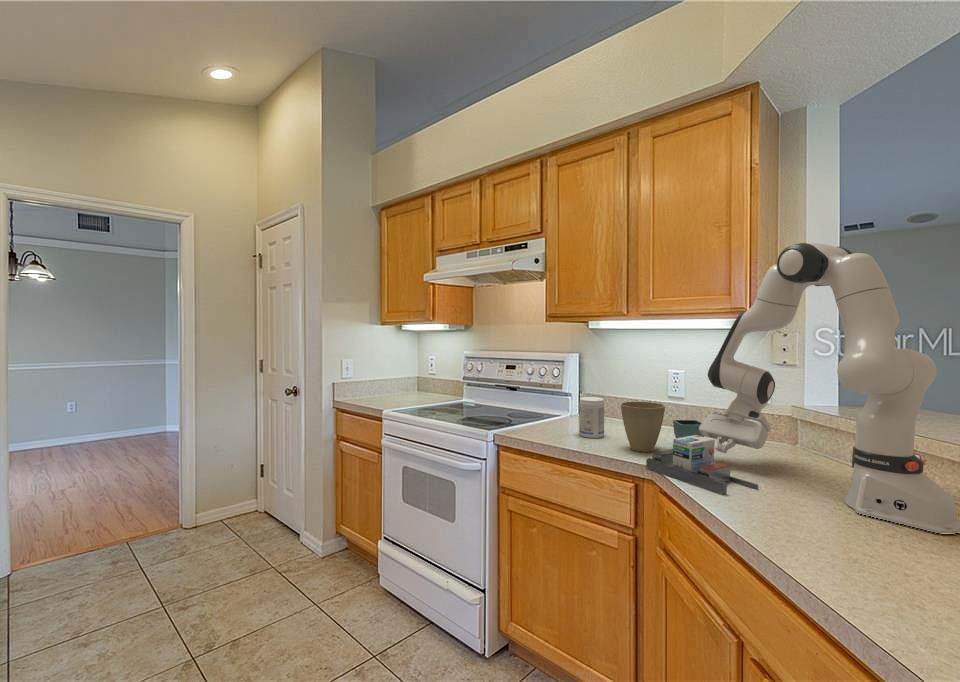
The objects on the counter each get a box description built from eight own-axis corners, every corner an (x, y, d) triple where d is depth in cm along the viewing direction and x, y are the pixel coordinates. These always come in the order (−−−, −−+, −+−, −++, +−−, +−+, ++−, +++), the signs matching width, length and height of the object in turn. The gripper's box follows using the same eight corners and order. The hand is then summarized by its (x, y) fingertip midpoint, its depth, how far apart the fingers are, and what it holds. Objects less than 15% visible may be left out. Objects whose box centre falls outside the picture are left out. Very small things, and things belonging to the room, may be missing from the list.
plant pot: (662, 445, 181) (663, 402, 180) (666, 456, 166) (667, 409, 166) (619, 442, 185) (620, 400, 184) (619, 453, 170) (620, 406, 170)
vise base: (758, 489, 135) (758, 471, 135) (728, 496, 129) (728, 478, 129) (674, 462, 159) (675, 448, 159) (646, 468, 153) (646, 453, 153)
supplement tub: (597, 432, 201) (598, 396, 201) (608, 438, 192) (609, 400, 191) (574, 433, 199) (575, 397, 198) (585, 439, 190) (585, 400, 189)
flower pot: (671, 443, 184) (672, 419, 184) (695, 444, 184) (696, 419, 184) (680, 449, 175) (681, 424, 175) (705, 450, 175) (706, 424, 175)
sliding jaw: (729, 480, 141) (730, 465, 141) (708, 485, 136) (709, 469, 136) (720, 477, 143) (720, 462, 143) (699, 482, 139) (699, 466, 139)
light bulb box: (690, 481, 141) (691, 443, 141) (671, 474, 147) (672, 438, 147) (714, 475, 147) (715, 439, 146) (694, 469, 153) (695, 434, 152)
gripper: (707, 405, 166) (686, 437, 162) (768, 416, 148) (747, 452, 144) (715, 417, 168) (695, 449, 164) (776, 429, 151) (755, 465, 146)
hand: (720, 451), depth 154 cm, fingers closed
